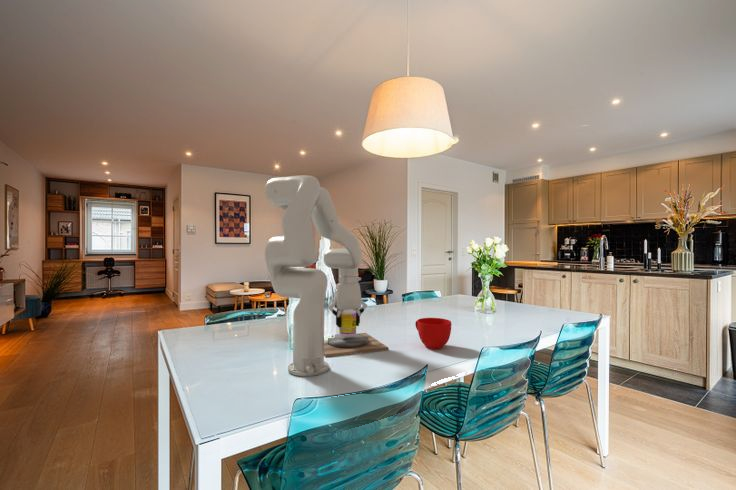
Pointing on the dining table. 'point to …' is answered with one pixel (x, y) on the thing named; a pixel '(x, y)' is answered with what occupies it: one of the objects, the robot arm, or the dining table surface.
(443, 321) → the ceramic cup
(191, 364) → the dining table surface
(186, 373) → the dining table surface
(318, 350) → the robot arm
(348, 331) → the supplement bottle
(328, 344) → the mount board
